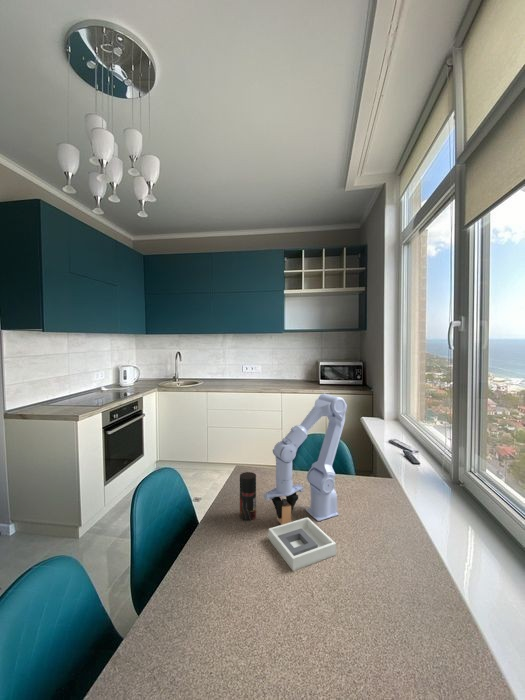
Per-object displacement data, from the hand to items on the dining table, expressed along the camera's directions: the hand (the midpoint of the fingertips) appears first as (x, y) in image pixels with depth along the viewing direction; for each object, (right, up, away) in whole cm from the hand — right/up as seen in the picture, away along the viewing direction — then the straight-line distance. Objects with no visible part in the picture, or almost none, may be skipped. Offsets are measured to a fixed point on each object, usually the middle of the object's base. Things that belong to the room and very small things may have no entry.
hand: (284, 515), depth 105 cm
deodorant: (-13, -3, +5) cm, 14 cm away
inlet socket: (+3, -3, -12) cm, 13 cm away
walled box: (+4, -3, -12) cm, 13 cm away
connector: (0, -2, 0) cm, 2 cm away
